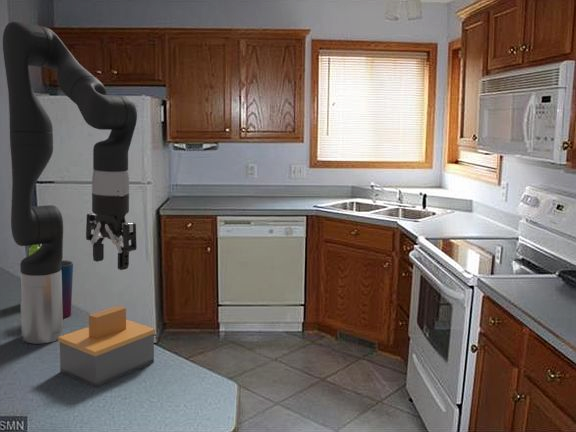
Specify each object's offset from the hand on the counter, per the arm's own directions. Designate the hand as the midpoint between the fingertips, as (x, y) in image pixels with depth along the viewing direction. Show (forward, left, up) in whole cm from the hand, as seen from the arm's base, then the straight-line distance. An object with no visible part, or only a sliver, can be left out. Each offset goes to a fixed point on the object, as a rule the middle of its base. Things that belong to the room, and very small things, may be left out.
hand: (110, 264), depth 122 cm
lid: (-1, 0, -18) cm, 18 cm away
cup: (-37, +13, -24) cm, 46 cm away
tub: (-1, 0, -24) cm, 24 cm away
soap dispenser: (-51, +15, -24) cm, 58 cm away
